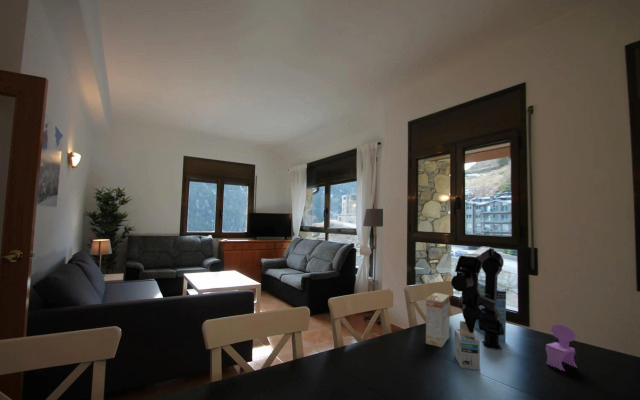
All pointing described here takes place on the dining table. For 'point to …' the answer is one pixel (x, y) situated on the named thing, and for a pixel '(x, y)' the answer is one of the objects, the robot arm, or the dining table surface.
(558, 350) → the toy chair
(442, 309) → the coffeecake box
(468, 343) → the light bulb box
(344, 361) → the dining table surface
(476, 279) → the robot arm
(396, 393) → the dining table surface
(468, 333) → the birch block
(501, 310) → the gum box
